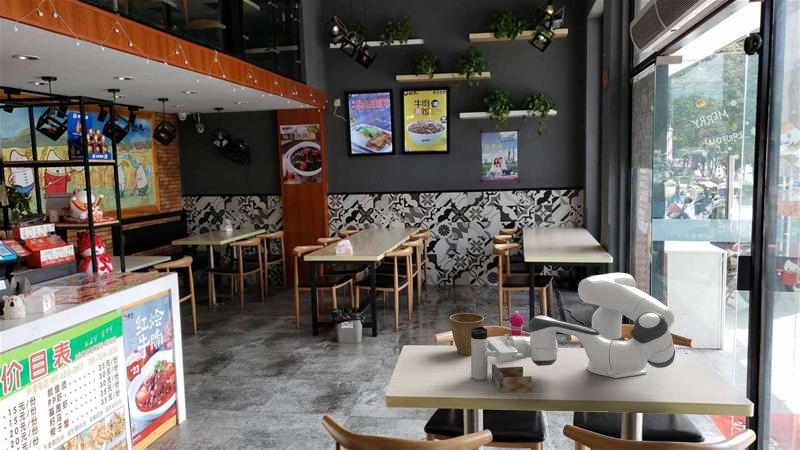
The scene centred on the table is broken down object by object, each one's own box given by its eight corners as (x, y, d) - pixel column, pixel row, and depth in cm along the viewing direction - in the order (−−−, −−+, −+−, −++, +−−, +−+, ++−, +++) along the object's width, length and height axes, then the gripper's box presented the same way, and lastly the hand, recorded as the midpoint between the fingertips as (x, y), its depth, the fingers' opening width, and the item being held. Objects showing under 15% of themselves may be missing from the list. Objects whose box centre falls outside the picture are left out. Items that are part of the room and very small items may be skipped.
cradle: (521, 379, 234) (522, 362, 233) (531, 391, 222) (531, 373, 221) (491, 381, 232) (491, 364, 232) (499, 392, 220) (499, 375, 220)
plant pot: (447, 357, 261) (447, 321, 259) (452, 346, 276) (452, 312, 274) (482, 359, 258) (482, 322, 256) (485, 348, 272) (485, 313, 271)
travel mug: (489, 377, 237) (489, 327, 234) (484, 382, 231) (484, 331, 228) (474, 374, 239) (474, 325, 237) (469, 380, 233) (468, 330, 231)
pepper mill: (525, 359, 257) (525, 313, 254) (507, 358, 258) (507, 312, 256) (524, 353, 264) (525, 309, 261) (508, 353, 265) (508, 308, 263)
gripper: (524, 364, 225) (488, 366, 223) (507, 348, 245) (474, 350, 243) (524, 347, 224) (488, 350, 222) (507, 332, 245) (473, 334, 243)
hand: (480, 350), depth 233 cm, fingers open, 8 cm apart
